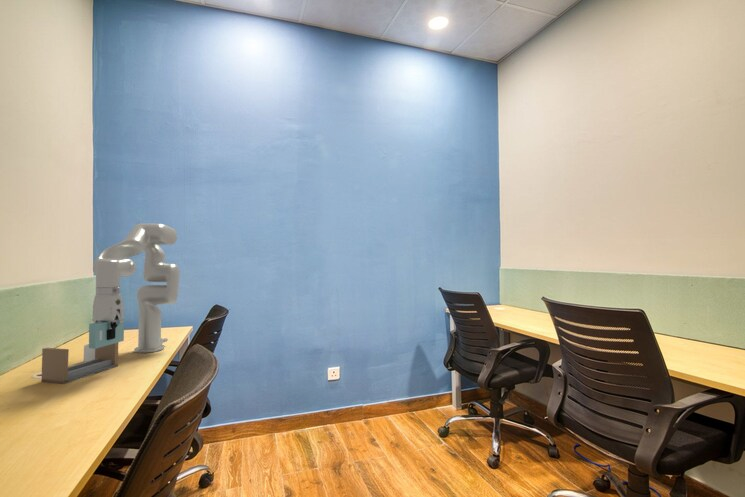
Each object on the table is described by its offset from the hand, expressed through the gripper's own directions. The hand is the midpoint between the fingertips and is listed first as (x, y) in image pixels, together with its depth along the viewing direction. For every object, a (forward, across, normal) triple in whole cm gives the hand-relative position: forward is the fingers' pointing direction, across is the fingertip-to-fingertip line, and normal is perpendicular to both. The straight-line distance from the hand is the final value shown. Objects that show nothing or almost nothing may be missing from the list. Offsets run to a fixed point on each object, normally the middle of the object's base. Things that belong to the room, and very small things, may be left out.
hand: (107, 338), depth 141 cm
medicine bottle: (+15, +22, -15) cm, 30 cm away
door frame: (+14, +11, +1) cm, 18 cm away
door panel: (+2, 0, 0) cm, 2 cm away
